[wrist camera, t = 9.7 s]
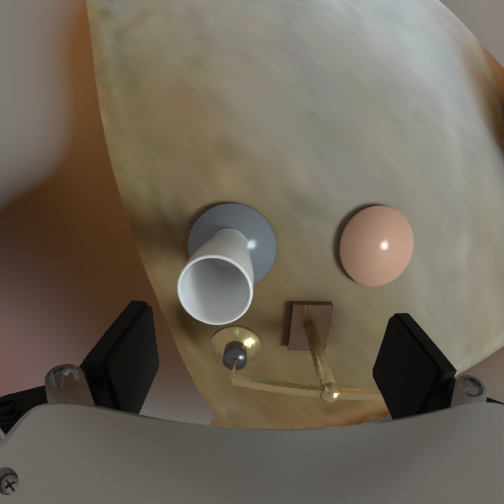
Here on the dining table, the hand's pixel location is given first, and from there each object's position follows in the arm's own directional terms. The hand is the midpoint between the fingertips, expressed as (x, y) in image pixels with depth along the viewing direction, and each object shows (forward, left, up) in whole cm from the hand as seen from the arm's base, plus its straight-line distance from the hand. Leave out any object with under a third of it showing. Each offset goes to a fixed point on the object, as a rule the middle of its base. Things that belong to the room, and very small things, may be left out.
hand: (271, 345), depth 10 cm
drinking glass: (+4, -4, -28) cm, 29 cm away
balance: (+16, +8, -29) cm, 34 cm away
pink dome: (+3, +17, -29) cm, 34 cm away
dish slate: (+4, -4, -29) cm, 30 cm away
